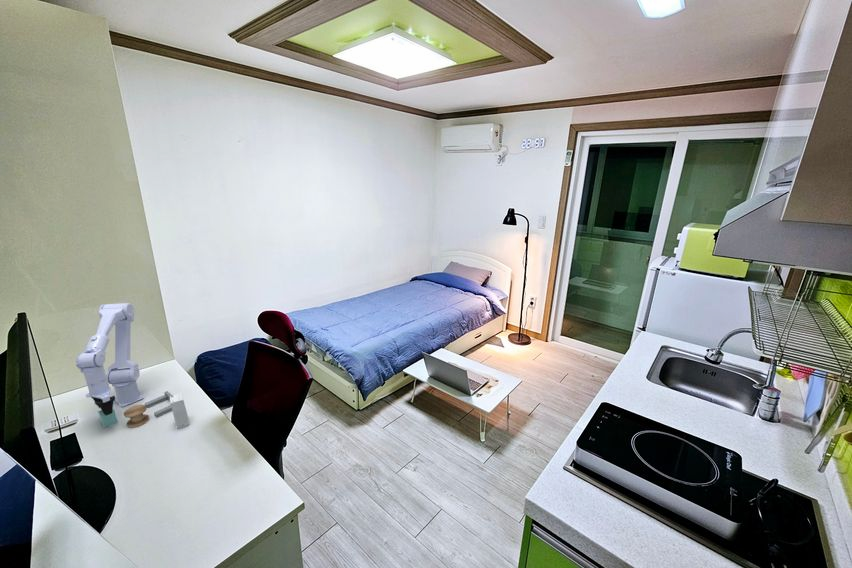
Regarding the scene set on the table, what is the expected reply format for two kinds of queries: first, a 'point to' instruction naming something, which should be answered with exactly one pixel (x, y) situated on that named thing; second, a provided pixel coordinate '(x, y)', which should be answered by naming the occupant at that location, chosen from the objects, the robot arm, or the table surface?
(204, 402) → the table surface
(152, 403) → the gray u-shaped block
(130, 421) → the spool
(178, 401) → the skincare box
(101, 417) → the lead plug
